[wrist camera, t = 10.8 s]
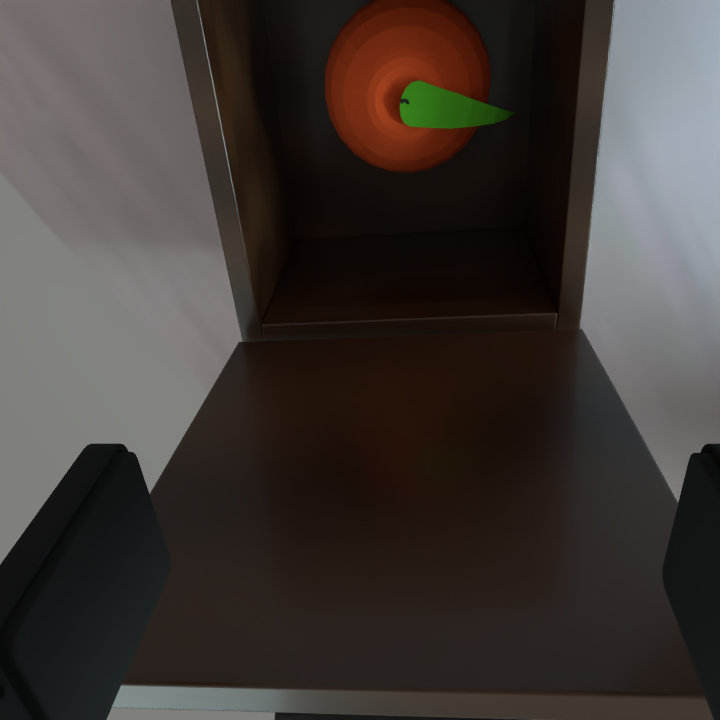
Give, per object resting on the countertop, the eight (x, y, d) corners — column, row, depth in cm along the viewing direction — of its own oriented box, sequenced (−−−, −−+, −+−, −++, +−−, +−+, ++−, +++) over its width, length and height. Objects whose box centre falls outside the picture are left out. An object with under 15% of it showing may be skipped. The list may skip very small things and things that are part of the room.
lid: (38, 681, 12) (104, 824, 15) (789, 699, 11) (735, 856, 13) (238, 341, 26) (256, 441, 29) (582, 328, 25) (573, 435, 27)
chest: (235, -67, 28) (152, -80, 19) (559, -103, 26) (630, -134, 18) (285, 249, 36) (242, 344, 27) (537, 236, 34) (579, 332, 25)
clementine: (525, 8, 28) (555, 21, 22) (483, 166, 32) (498, 214, 26) (345, -27, 28) (325, -24, 22) (324, 136, 31) (302, 177, 25)
